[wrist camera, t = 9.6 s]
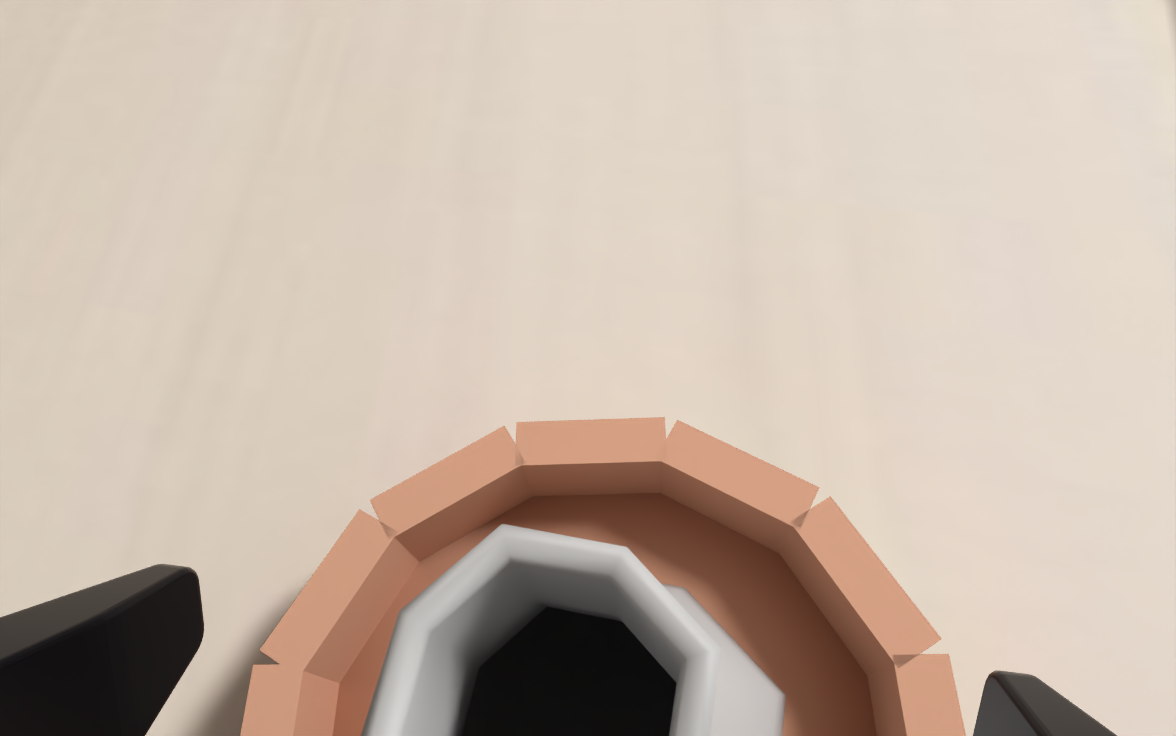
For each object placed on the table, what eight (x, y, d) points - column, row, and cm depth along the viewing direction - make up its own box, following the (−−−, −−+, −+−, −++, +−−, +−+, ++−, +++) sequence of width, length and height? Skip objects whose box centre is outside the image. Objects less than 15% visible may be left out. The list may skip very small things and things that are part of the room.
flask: (350, 825, 16) (-41, 870, 7) (543, 512, 18) (443, 254, 9) (681, 1073, 13) (736, 1609, 5) (843, 678, 16) (1073, 544, 7)
